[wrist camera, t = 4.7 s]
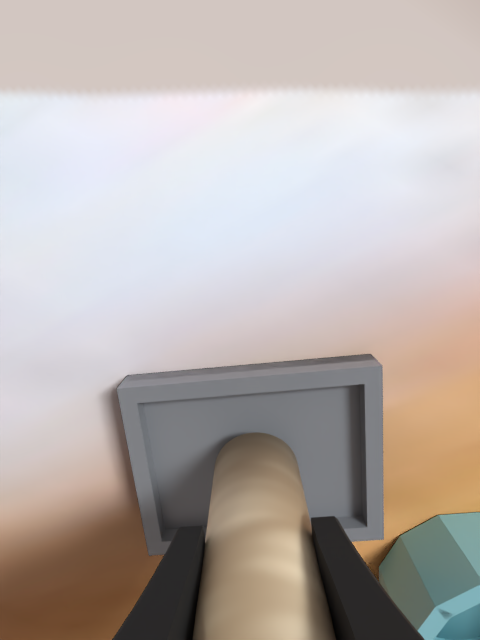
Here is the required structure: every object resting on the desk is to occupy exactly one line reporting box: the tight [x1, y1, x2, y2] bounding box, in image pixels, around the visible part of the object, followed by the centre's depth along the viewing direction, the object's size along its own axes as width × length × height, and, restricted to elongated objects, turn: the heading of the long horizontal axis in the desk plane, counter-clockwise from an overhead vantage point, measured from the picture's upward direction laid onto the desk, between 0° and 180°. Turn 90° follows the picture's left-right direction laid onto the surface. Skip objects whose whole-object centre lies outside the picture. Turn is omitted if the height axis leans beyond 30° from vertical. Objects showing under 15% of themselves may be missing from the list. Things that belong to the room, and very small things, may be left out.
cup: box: [379, 512, 480, 640], centre depth 15 cm, size 7×7×3 cm
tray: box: [117, 354, 384, 556], centre depth 14 cm, size 9×7×1 cm
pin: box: [192, 432, 336, 640], centre depth 10 cm, size 3×3×8 cm
